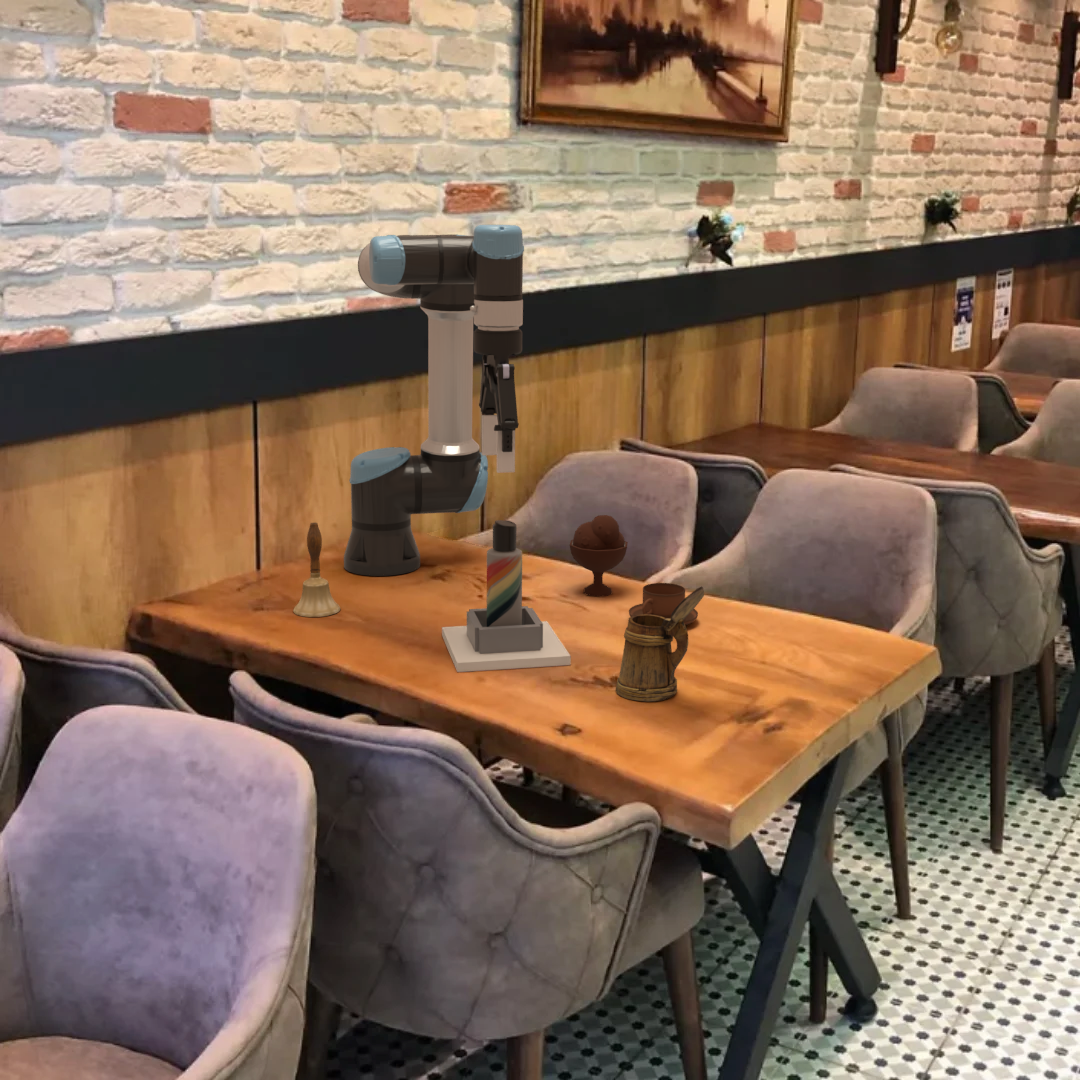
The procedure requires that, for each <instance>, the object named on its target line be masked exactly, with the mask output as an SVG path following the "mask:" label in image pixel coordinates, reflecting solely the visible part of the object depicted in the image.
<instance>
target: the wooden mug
mask: <svg viewBox="0 0 1080 1080" xmlns="http://www.w3.org/2000/svg"><path fill="white" fill-rule="evenodd" d="M704 597H705V590H704V587H703V586H699V587H698V588H696V589H695V590H693V591H692V592H691V593H689V594H688V595H687V596H685V599H684V600H683V601H682V602H681V603H680V604H679V605H678V606H677V607H676V608H675V609H674V611H673V612H672V614H671V619H669V618H665V617H662V616H658V615H651V614H642V615H634V616H632V617H628V619H627V620H628V622H627V626H626V627H625V628H624V629H625V630H624V635H623V638H624V645H623V653H622V659H621V663H620V670H619V677H618V678H617V680H616V686H615V690H614V691H615V693H616V694H617V695H619V697H622V698H624V699H627V700H632V701H636V702H650V703H651V702H661V701H665V700H669V699H670V698H672V697H674V696H675V695H676V694H677V692H678V679H677V678H676V676H675V673H676V669H677V668H678V666H679V664H680V663H681V662H682V660H683V659H684V657H685V655H686V654H687V652H688V646H689V633H688V629H687V625H685V624H684V621H683V620H684V619H685V618H686V616H687V615H688V614H689V613H690V612H691V611H692V610H693V609H696V607H697V606H698V605H699V603H700V602H701V601H702V599H703V598H704ZM674 639H675V641H676V649H675V650H674V651H672V642H673V641H674Z"/></svg>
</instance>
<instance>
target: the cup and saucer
mask: <svg viewBox="0 0 1080 1080" xmlns="http://www.w3.org/2000/svg"><path fill="white" fill-rule="evenodd" d="M685 598H686V588H685V586H682V585H681V584H675V583H672V582H671V583H670V582H655V583H653V582H652V583H649V584H646V585H644V586H643V587H642V602H641V603H638V604H635V605H633V606H631V607H630V608H629V610H628V616H630V617H632V616H634V615H642V614H651V615H658V616H662V617H665V618H669V619H671V614H672V612H673V611H674V609H675V608H676V607H677V606H678V605H679V604H680V603H681V602H682V601H683V600H684V599H685ZM698 615H699V613H698V611H697V609H696V608H694V609H693V610H692V611H691V612H690V613H689V614H688V615H687V616H686V618H685V619H684V620H683V621H684V624H685V626H687V625H690V624H691V623H694V621H696V620H697V618H698ZM630 617H629V618H630Z"/></svg>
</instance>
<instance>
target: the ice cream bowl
mask: <svg viewBox="0 0 1080 1080" xmlns="http://www.w3.org/2000/svg"><path fill="white" fill-rule="evenodd" d="M628 542H629V541H626V540H625V537H624V535H623V533H622V532H621V531H620V526H619V523H618V521H617V520H616V519H615V518H614V517H613V516H611V515H608V514H602V515H599V514H598V515H597V516H595V517H594V518H593V519H592V521H587V522H584V523H582V524H580V525H579V526H578V527H577V529H576V530H575V532H574V535H573V539H571V540H570V542H569V549H570V550H569V551H570V554H571V556H572V558H573V560H574V561H575V562H576V563H577V564H578V565H579V566H581V567H582V568H584V569H586V570H588V571H590V572H592V576H593V579H592V580H593V581H592V582H593V583H591V584H589V585H587V586H585V587H584V589H583V592H582V593H583V594H584V595H587V596H591V597H607V596H610V595H612V594H613V590H612V588H611V587H609V586H607V585H606V584H604V581H603V579H604V578H603V576H604V574H605V572H608V571H610V570H613V569H614V568H616V567H617V566H618V565H619V564H620V563H622V561H623V560H624V559H625V558H624V557H625V556H626V553H627V549H628Z"/></svg>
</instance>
